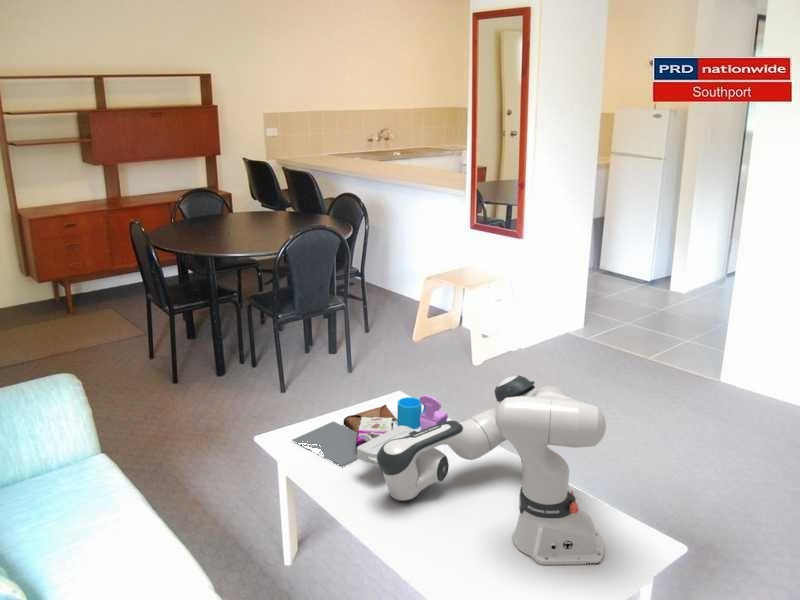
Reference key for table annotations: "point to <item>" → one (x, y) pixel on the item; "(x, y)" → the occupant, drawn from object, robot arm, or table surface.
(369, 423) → the candy bar box
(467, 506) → the table surface
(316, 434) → the mat
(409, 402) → the mug
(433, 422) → the toy chair
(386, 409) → the sunglasses case
